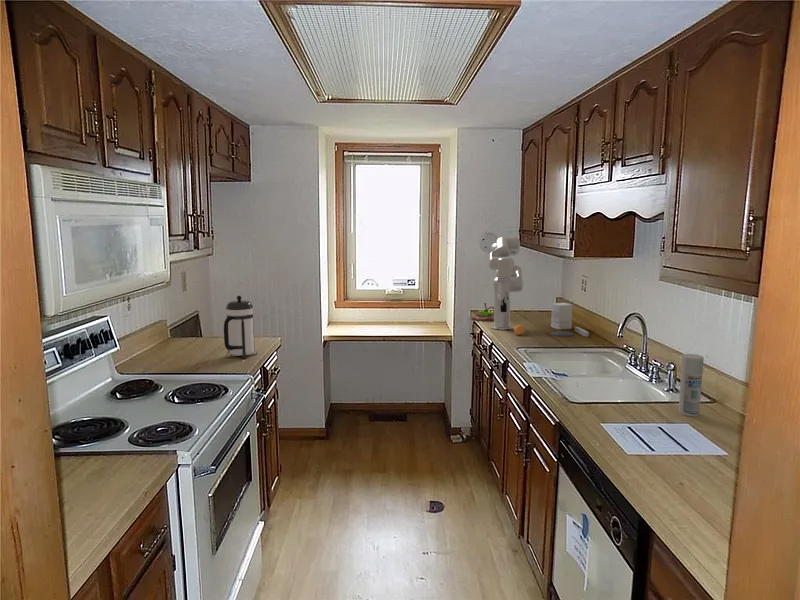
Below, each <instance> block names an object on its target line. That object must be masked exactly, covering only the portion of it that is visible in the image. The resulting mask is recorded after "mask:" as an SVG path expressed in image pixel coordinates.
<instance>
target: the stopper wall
mask: <svg viewBox="0 0 800 600" xmlns="http://www.w3.org/2000/svg"><path fill="white" fill-rule="evenodd" d="M574 332H576V333H578V334H580V335H582V336H583V337H585V338H586V337H589V335H590V334H589V331H587V330H586V329H583V328H581V327H579V326H574Z"/></svg>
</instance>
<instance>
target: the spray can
mask: <svg viewBox="0 0 800 600" xmlns="http://www.w3.org/2000/svg"><path fill="white" fill-rule="evenodd" d="M703 372H704V356H703V355H699V354H694V353H684V354H682V355H681V367H680V384H679V385H680V386H679V399H678V400H679V401H678V413H679V414H680V415H682V416H686V417H698V416H699V415H700V412H701V411H700V409H701V396H702V384H703V383H702V381H703Z"/></svg>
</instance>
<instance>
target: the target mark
mask: <svg viewBox="0 0 800 600" xmlns="http://www.w3.org/2000/svg"><path fill="white" fill-rule="evenodd" d="M551 334H552V335H551ZM550 335H551V336H554V337H572V336H574V333H573V332H569V331H552V332H550Z"/></svg>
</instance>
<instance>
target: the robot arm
mask: <svg viewBox="0 0 800 600" xmlns="http://www.w3.org/2000/svg"><path fill="white" fill-rule="evenodd" d="M520 249H521V241H520V239H519V238H518V237H517V236H500V237H498V238H497V239H496V241H495V243H493V244H491V248H490V254H489V257H488V267H489V269H490V270H491V271H492V270H493V271H495V278H494V279H493V282H492V283H493V295H494V296H493V297H494V300H493V301H494V302H493V303H494V304H493V305H494V306H493V307H494V309H493V314H494V322H493V324H492V325H491V329H493V330H497V329H499V331H505V330H507V329H509V330H512V329H513V325H511V299H510V293H521V291H522V290H523V287H524V286H523V285H524V282H523V281H524V280H523V270H522V268H521V266H519V265H515V260H514V258H512V257H511V256H514V257H515V256H518V255H519V252H520Z"/></svg>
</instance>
